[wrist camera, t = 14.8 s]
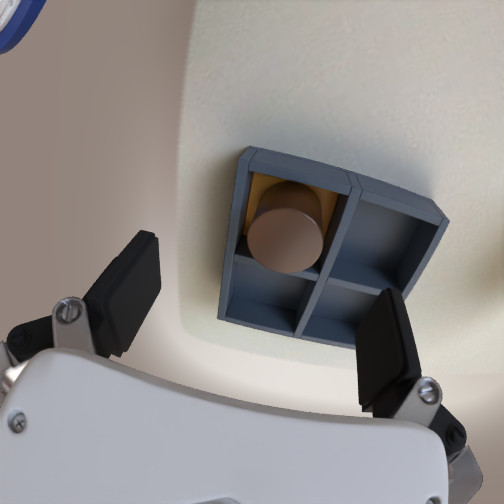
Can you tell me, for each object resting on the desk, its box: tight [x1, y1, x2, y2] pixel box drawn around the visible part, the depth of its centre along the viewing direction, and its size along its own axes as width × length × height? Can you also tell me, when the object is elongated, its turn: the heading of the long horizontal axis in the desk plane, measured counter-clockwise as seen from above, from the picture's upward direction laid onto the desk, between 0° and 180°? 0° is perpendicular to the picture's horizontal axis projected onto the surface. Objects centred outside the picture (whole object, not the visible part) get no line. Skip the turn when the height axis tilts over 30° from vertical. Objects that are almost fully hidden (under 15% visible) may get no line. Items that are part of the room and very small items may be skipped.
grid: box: [217, 146, 450, 350], centre depth 19 cm, size 13×13×3 cm
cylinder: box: [247, 181, 323, 273], centre depth 16 cm, size 4×4×4 cm
